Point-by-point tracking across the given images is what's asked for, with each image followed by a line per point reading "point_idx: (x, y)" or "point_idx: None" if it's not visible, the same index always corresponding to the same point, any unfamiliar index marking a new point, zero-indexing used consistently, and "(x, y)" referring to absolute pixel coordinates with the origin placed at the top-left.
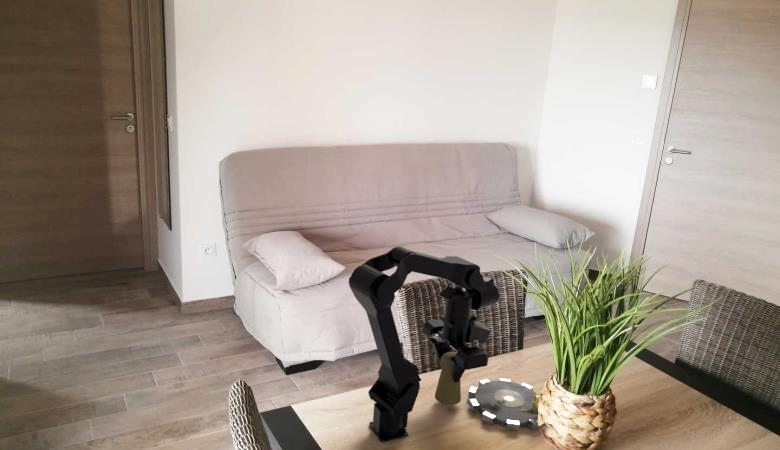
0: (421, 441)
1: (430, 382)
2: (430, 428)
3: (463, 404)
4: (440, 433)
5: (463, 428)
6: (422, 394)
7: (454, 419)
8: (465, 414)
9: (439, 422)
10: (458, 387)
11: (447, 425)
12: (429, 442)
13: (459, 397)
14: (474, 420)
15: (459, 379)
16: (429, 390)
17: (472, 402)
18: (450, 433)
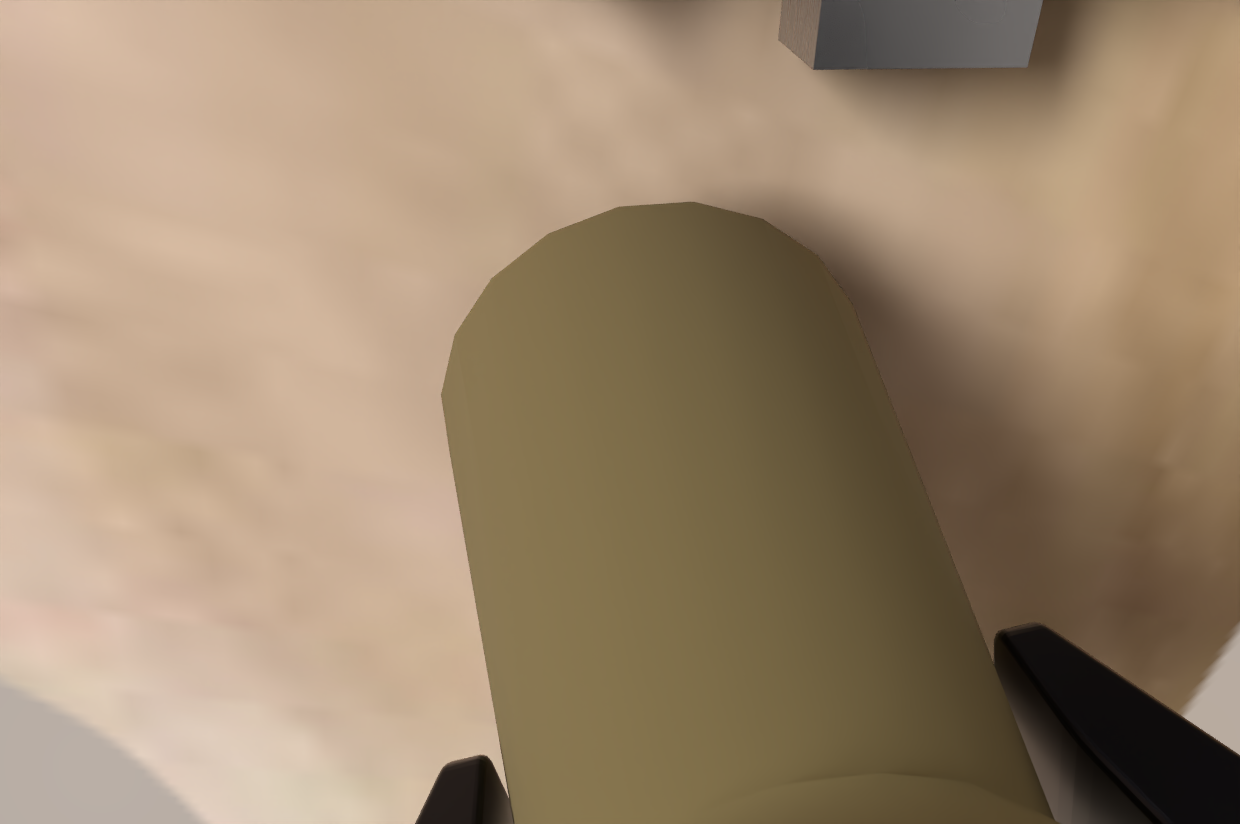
0: (1168, 698)
1: (24, 433)
2: (1033, 607)
3: (679, 89)
4: (1148, 538)
5: (1194, 277)
6: (375, 580)
7: (985, 335)
8: (934, 148)
9: (975, 510)
10: (913, 470)
11: (1059, 443)
12: (1214, 646)
13: (839, 307)
14: (1114, 57)
15: (1106, 674)
16: (267, 487)
17: (934, 45)
18: (1198, 446)
